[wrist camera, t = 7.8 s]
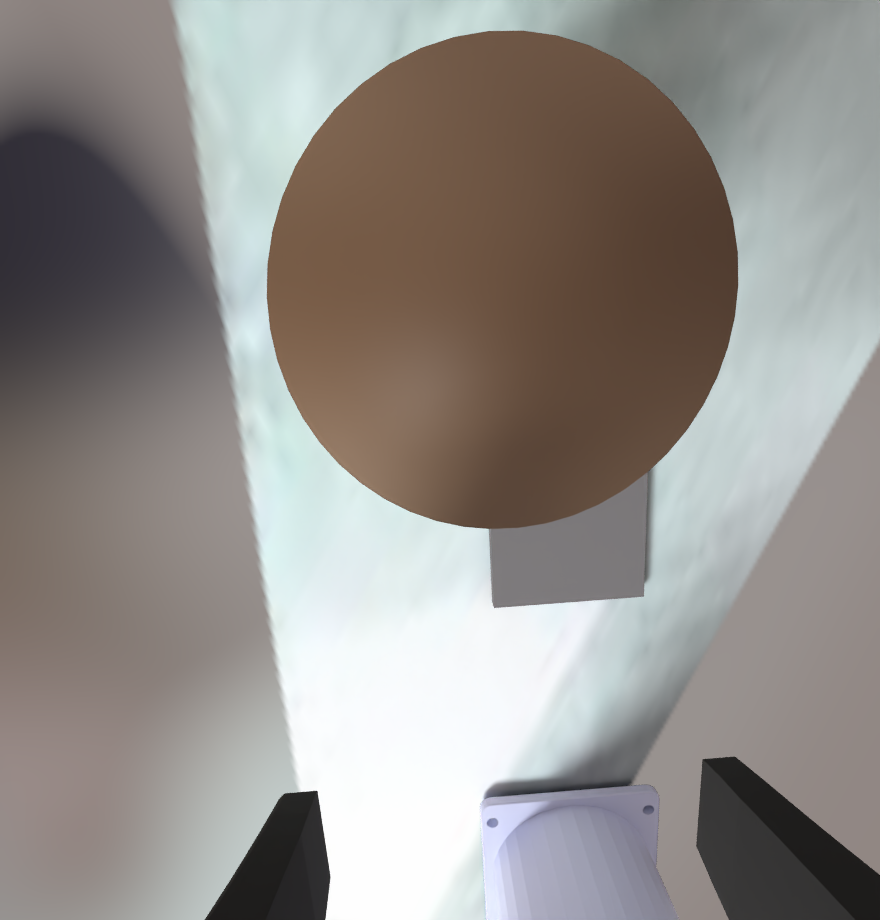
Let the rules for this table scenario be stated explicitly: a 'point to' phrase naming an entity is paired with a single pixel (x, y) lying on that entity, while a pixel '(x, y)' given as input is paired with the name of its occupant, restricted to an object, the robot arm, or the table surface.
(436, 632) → the table surface
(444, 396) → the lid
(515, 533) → the mat
